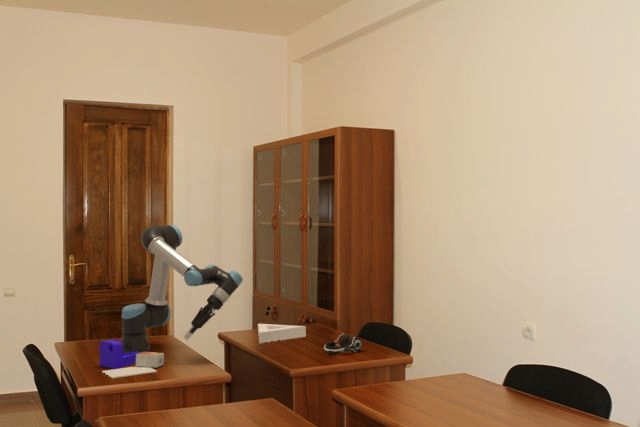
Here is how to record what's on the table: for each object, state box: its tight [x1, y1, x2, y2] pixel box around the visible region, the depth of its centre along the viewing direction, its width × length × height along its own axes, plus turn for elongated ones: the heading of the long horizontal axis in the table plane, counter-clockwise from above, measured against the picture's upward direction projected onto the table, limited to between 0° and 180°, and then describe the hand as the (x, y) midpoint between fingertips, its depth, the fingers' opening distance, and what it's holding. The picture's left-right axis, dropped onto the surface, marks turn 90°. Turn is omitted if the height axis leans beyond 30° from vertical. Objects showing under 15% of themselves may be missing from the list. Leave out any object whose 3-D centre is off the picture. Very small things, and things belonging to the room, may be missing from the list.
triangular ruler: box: [257, 323, 307, 344], centre depth 400 cm, size 30×26×6 cm
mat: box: [101, 365, 158, 379], centre depth 322 cm, size 15×20×1 cm
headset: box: [323, 333, 363, 356], centre depth 359 cm, size 17×8×20 cm
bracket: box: [99, 339, 140, 370], centre depth 339 cm, size 18×11×12 cm, turn 142°
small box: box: [135, 351, 165, 369], centre depth 332 cm, size 8×6×10 cm
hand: (185, 338), depth 336 cm, fingers closed
